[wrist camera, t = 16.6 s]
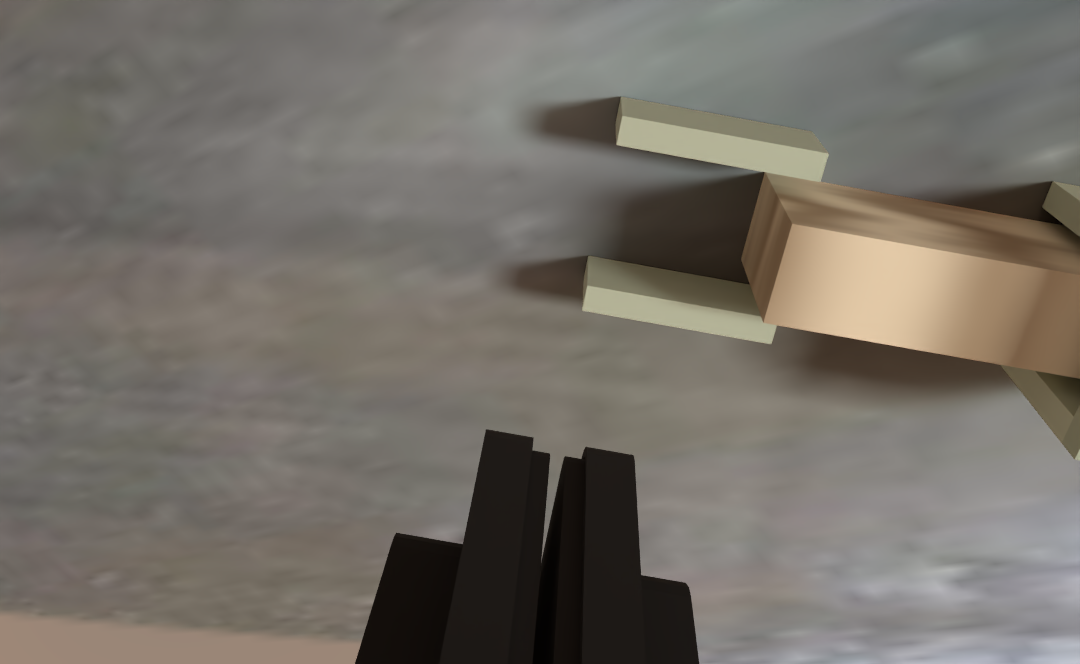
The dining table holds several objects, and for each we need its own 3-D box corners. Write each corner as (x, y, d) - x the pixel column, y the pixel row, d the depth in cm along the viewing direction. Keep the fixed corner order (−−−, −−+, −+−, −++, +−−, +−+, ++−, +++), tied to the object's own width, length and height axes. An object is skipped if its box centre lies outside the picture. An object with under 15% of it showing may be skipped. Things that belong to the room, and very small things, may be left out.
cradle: (583, 279, 39) (582, 310, 36) (620, 96, 36) (622, 115, 33) (759, 310, 39) (771, 344, 36) (811, 131, 36) (828, 153, 33)
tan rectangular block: (740, 257, 39) (763, 322, 33) (764, 170, 37) (792, 223, 32) (1094, 320, 39) (1174, 395, 33) (1132, 236, 37) (1222, 300, 32)
